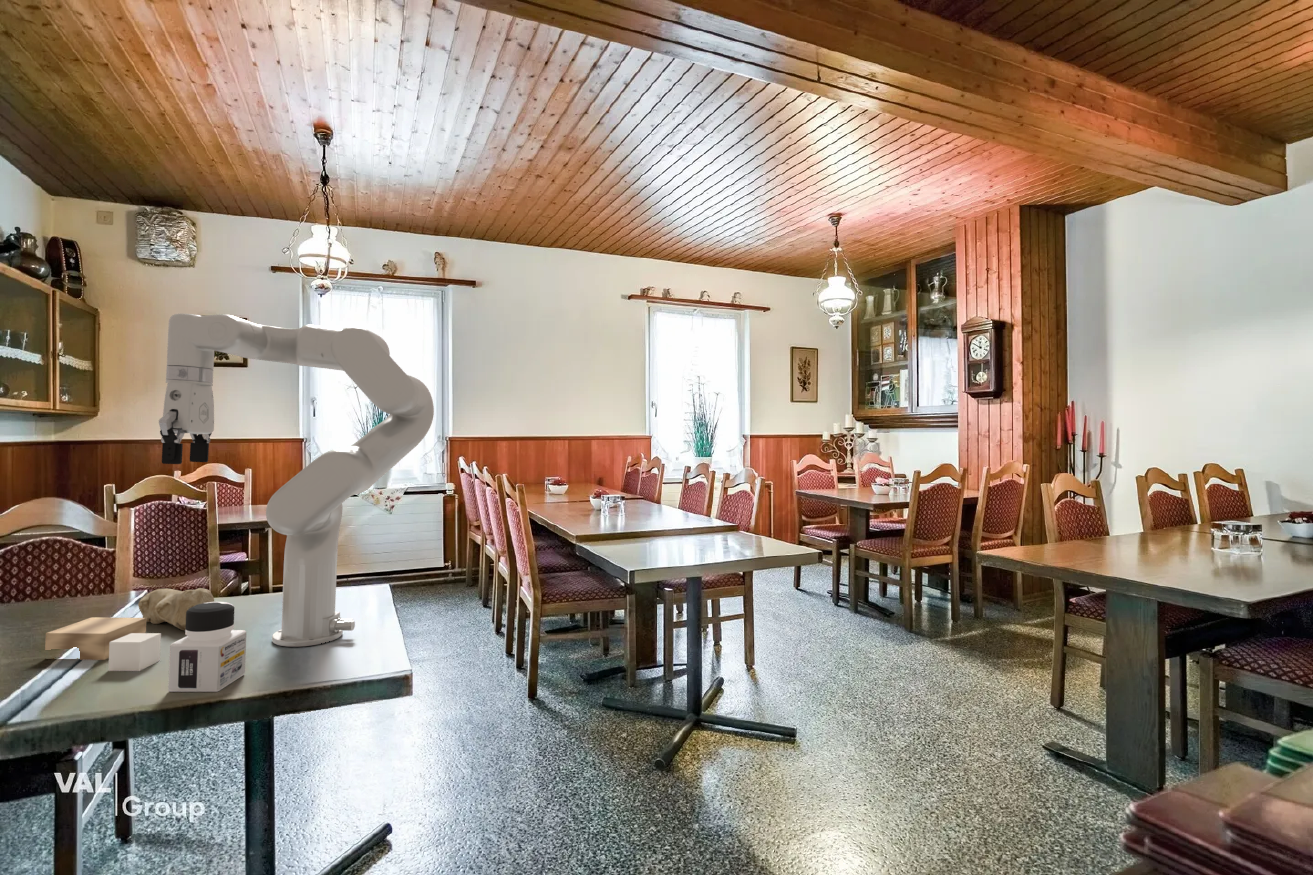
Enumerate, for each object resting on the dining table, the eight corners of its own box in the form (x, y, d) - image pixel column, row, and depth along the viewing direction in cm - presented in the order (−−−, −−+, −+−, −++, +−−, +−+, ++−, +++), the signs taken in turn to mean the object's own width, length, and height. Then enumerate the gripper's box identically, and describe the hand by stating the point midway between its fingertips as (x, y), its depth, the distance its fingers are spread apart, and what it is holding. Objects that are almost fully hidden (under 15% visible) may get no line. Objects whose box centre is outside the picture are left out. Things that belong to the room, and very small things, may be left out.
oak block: (145, 643, 122) (146, 617, 123) (104, 661, 112) (105, 633, 113) (90, 643, 122) (91, 617, 122) (44, 661, 112) (45, 633, 112)
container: (218, 692, 100) (221, 611, 100) (166, 692, 99) (170, 610, 100) (245, 674, 108) (248, 598, 108) (198, 674, 107) (201, 598, 107)
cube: (159, 661, 113) (160, 633, 113) (139, 671, 108) (140, 642, 108) (130, 660, 112) (131, 633, 113) (108, 671, 108) (109, 642, 108)
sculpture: (158, 624, 124) (198, 581, 129) (120, 608, 132) (160, 568, 138) (194, 645, 129) (231, 603, 135) (155, 628, 138) (192, 589, 144)
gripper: (187, 374, 117) (182, 465, 117) (231, 382, 134) (227, 462, 134) (141, 371, 116) (137, 464, 116) (192, 380, 133) (188, 460, 133)
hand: (185, 462), depth 125 cm, fingers open, 9 cm apart
